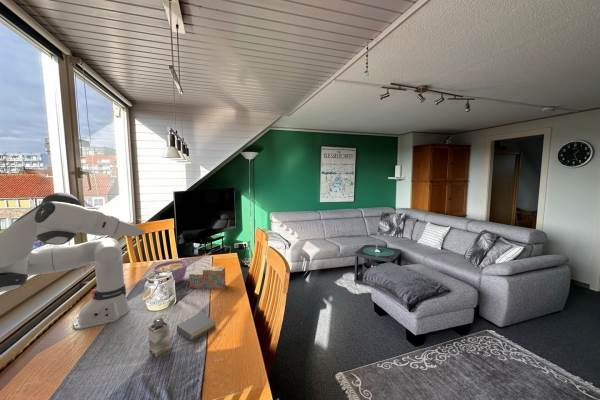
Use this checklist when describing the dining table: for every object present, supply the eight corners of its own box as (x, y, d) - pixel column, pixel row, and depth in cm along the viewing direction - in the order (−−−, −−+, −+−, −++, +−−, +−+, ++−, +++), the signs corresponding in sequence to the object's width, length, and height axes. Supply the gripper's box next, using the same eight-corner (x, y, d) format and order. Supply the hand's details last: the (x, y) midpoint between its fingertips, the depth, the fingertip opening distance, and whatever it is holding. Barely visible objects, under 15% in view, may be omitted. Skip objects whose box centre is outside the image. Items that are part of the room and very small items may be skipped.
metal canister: (154, 331, 98) (154, 323, 97) (153, 327, 100) (152, 319, 100) (164, 328, 100) (163, 320, 100) (162, 324, 103) (162, 316, 102)
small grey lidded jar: (156, 356, 97) (154, 331, 96) (149, 350, 100) (147, 326, 99) (171, 348, 102) (169, 324, 101) (164, 342, 105) (162, 319, 104)
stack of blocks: (189, 288, 156) (188, 269, 155) (194, 283, 163) (193, 265, 161) (222, 289, 155) (221, 270, 153) (225, 285, 161) (225, 266, 160)
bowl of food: (189, 274, 178) (188, 259, 177) (187, 286, 159) (186, 268, 158) (157, 278, 171) (156, 262, 170) (151, 291, 152) (150, 273, 151)
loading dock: (191, 341, 106) (191, 335, 105) (176, 331, 113) (176, 324, 113) (215, 327, 115) (215, 321, 115) (200, 318, 123) (200, 313, 122)
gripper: (82, 227, 94) (120, 233, 106) (110, 236, 84) (148, 242, 96) (89, 211, 95) (126, 219, 107) (117, 218, 86) (154, 226, 97)
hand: (137, 230), depth 101 cm, fingers open, 8 cm apart
